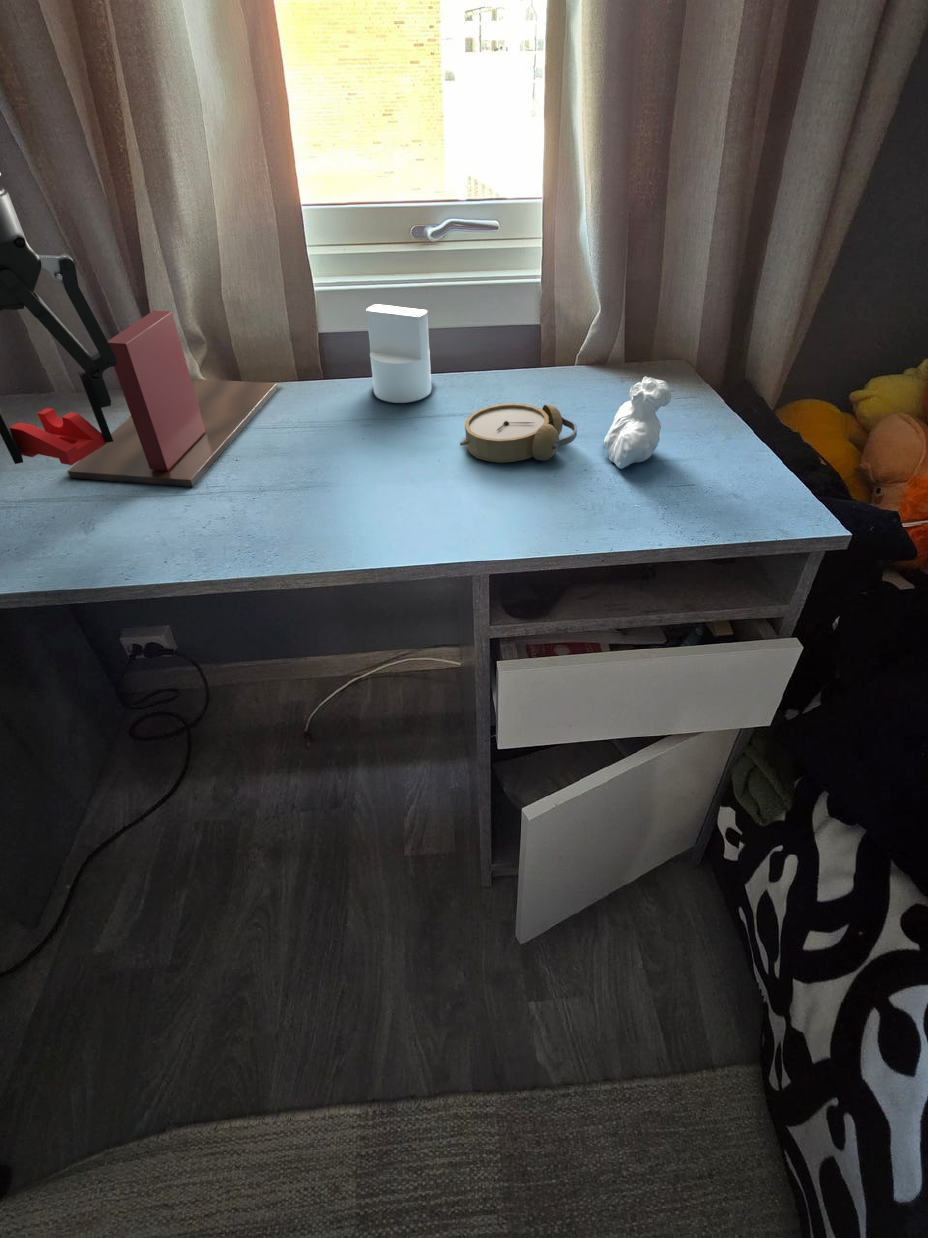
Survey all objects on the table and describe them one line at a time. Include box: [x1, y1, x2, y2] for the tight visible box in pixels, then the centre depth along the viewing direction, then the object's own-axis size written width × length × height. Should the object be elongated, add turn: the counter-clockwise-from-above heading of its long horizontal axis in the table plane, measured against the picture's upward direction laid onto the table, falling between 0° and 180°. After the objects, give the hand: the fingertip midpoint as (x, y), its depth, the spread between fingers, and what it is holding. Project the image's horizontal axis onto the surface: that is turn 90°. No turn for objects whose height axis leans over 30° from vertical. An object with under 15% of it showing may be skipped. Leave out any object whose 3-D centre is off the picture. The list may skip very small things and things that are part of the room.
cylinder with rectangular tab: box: [365, 303, 432, 404], centre depth 104 cm, size 9×9×12 cm
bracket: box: [9, 407, 106, 466], centre depth 70 cm, size 6×5×3 cm
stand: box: [67, 378, 278, 488], centre depth 99 cm, size 17×30×1 cm, turn 171°
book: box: [107, 310, 205, 471], centre depth 86 cm, size 2×11×16 cm, turn 171°
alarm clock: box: [459, 402, 578, 463], centre depth 92 cm, size 11×5×15 cm
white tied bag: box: [603, 376, 672, 470], centre depth 88 cm, size 12×8×11 cm
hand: (63, 446), depth 70 cm, fingers closed on bracket, 8 cm apart
